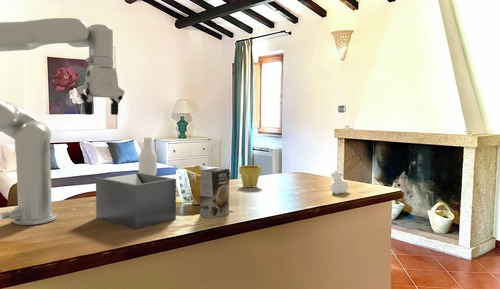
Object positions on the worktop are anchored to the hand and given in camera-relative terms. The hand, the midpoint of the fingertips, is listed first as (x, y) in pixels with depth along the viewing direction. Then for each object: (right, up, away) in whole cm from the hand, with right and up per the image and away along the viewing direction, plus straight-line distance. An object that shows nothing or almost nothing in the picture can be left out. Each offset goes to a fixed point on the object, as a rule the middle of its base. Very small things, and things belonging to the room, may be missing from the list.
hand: (101, 114), depth 132 cm
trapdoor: (+9, -27, 0) cm, 28 cm away
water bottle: (+9, -33, +26) cm, 42 cm away
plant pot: (+50, -31, +57) cm, 82 cm away
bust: (+90, -33, +46) cm, 106 cm away
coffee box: (+38, -35, +4) cm, 52 cm away
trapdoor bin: (+12, -35, -2) cm, 37 cm away
